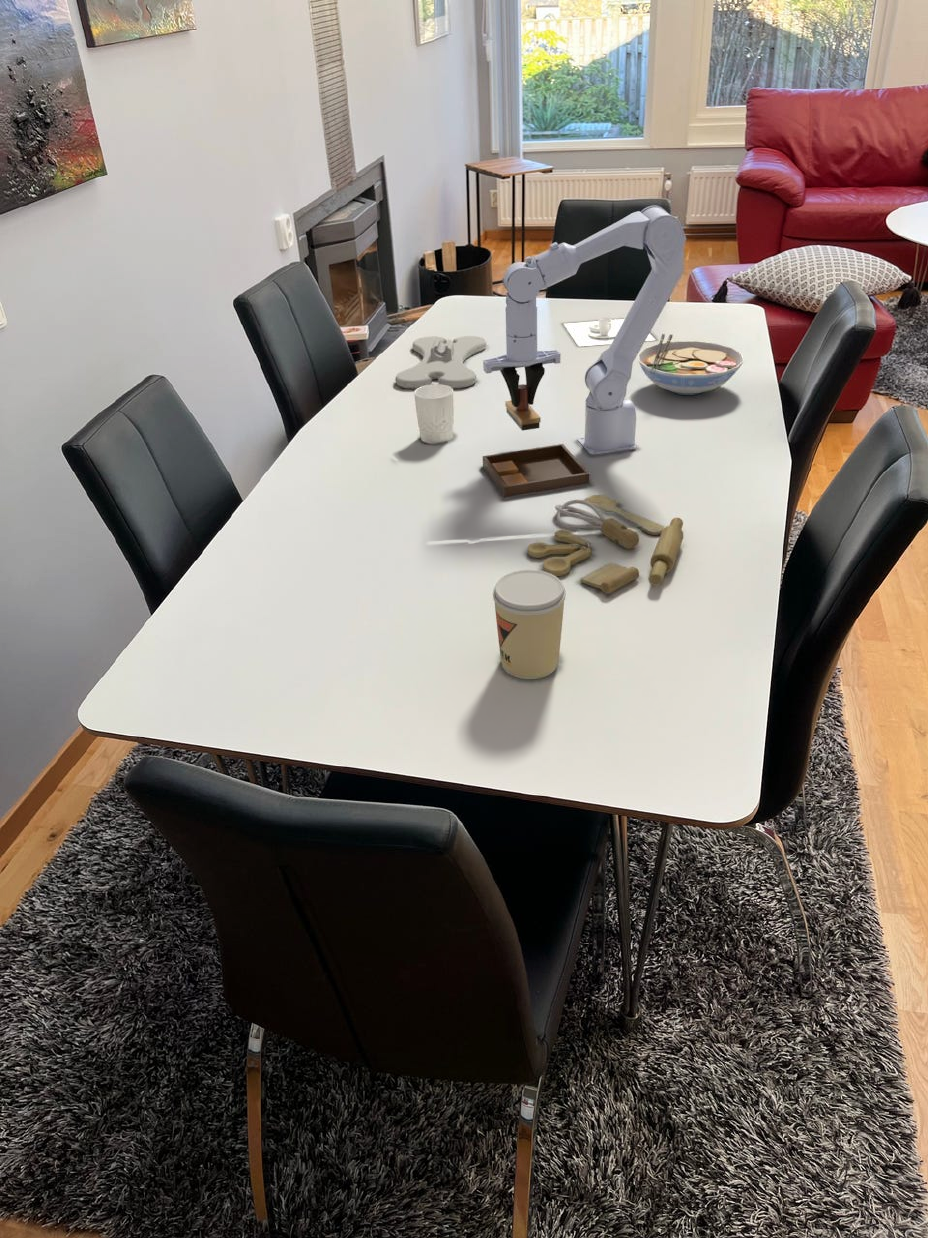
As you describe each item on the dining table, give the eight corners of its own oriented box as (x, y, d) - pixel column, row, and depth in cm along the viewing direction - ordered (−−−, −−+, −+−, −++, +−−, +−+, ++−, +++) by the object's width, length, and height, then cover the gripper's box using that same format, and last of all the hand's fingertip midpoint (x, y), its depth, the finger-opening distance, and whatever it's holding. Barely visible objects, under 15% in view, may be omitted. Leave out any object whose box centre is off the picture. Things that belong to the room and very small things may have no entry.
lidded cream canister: (491, 645, 128) (488, 571, 121) (558, 639, 128) (559, 565, 122) (499, 686, 120) (496, 610, 114) (570, 680, 121) (571, 603, 114)
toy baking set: (528, 497, 165) (528, 479, 163) (672, 496, 163) (674, 477, 161) (526, 596, 138) (526, 576, 136) (699, 596, 136) (701, 575, 134)
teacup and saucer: (585, 330, 244) (585, 315, 241) (614, 328, 244) (615, 312, 242) (592, 340, 236) (592, 324, 234) (622, 338, 237) (623, 322, 235)
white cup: (451, 446, 185) (448, 398, 180) (413, 444, 187) (409, 397, 181) (459, 431, 192) (456, 384, 186) (422, 429, 193) (419, 383, 188)
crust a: (512, 466, 175) (511, 460, 174) (518, 474, 172) (518, 468, 171) (491, 469, 174) (491, 463, 174) (497, 477, 171) (497, 472, 170)
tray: (562, 455, 179) (562, 443, 178) (589, 485, 168) (589, 473, 166) (482, 468, 176) (482, 455, 175) (504, 499, 165) (504, 487, 163)
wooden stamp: (523, 409, 182) (523, 376, 178) (540, 428, 174) (540, 394, 170) (505, 411, 182) (504, 378, 178) (521, 431, 173) (521, 397, 169)
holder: (487, 342, 240) (487, 323, 237) (474, 389, 212) (473, 367, 209) (415, 343, 242) (414, 324, 239) (393, 389, 214) (391, 368, 211)
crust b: (521, 478, 170) (521, 472, 170) (527, 487, 167) (527, 481, 166) (500, 482, 170) (500, 476, 169) (506, 491, 166) (506, 485, 166)
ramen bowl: (734, 414, 192) (739, 375, 188) (625, 405, 199) (627, 368, 194) (744, 373, 211) (749, 338, 207) (645, 367, 218) (647, 333, 214)
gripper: (551, 322, 173) (551, 391, 180) (477, 331, 170) (480, 402, 178) (564, 332, 167) (563, 404, 175) (488, 342, 164) (490, 415, 172)
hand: (522, 404), depth 176 cm, fingers closed on wooden stamp, 2 cm apart
